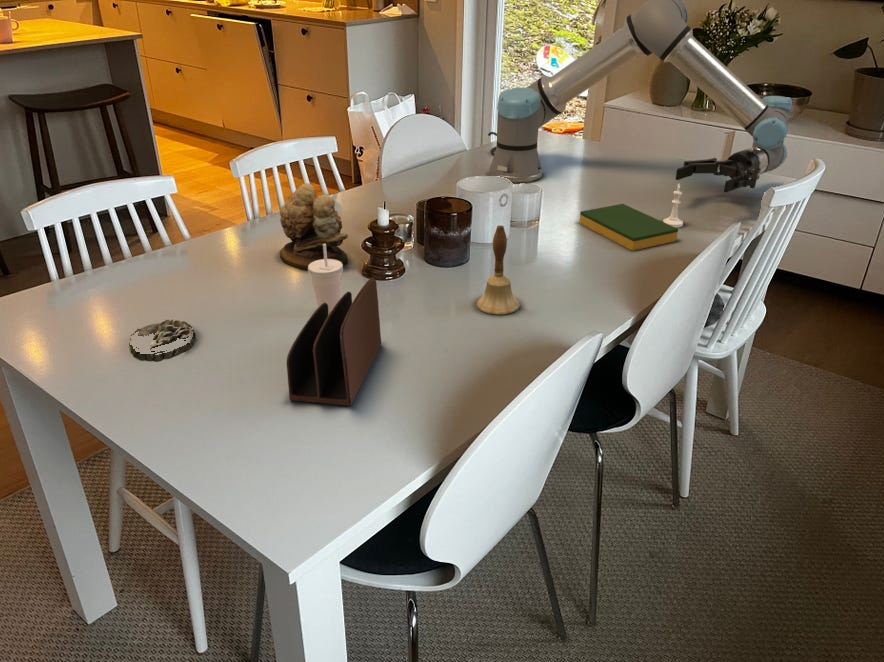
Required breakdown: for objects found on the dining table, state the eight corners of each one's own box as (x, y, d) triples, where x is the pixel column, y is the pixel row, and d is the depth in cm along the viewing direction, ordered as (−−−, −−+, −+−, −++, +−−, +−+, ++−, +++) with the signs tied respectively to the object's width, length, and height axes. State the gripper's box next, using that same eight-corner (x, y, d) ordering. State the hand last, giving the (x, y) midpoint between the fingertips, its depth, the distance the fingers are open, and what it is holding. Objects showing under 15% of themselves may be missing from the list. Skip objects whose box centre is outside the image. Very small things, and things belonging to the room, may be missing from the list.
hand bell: (467, 306, 144) (469, 227, 136) (493, 292, 149) (496, 215, 141) (502, 319, 139) (506, 238, 131) (528, 304, 145) (532, 225, 136)
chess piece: (681, 221, 185) (687, 181, 180) (684, 228, 181) (691, 187, 175) (660, 220, 185) (666, 180, 180) (663, 227, 181) (670, 186, 176)
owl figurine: (364, 259, 164) (359, 183, 155) (328, 277, 155) (321, 198, 146) (303, 242, 172) (295, 169, 163) (266, 259, 164) (256, 182, 155)
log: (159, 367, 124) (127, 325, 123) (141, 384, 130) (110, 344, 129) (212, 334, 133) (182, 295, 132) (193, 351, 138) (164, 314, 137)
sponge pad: (579, 223, 183) (580, 211, 182) (621, 215, 188) (622, 203, 187) (632, 250, 168) (633, 238, 167) (676, 241, 173) (678, 228, 172)
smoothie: (318, 323, 138) (311, 252, 131) (307, 309, 143) (300, 240, 135) (351, 315, 140) (346, 246, 133) (339, 302, 145) (334, 234, 138)
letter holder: (381, 344, 131) (378, 270, 124) (351, 407, 114) (345, 325, 107) (327, 340, 132) (320, 266, 125) (288, 401, 115) (278, 320, 108)
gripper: (706, 141, 202) (660, 155, 190) (795, 159, 186) (750, 176, 174) (701, 168, 206) (656, 184, 194) (788, 189, 190) (744, 207, 178)
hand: (701, 180), depth 184 cm, fingers open, 13 cm apart
